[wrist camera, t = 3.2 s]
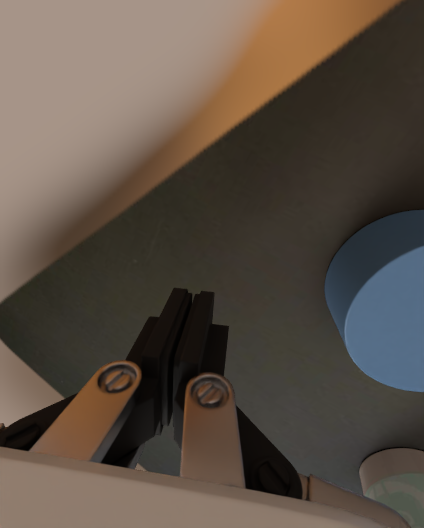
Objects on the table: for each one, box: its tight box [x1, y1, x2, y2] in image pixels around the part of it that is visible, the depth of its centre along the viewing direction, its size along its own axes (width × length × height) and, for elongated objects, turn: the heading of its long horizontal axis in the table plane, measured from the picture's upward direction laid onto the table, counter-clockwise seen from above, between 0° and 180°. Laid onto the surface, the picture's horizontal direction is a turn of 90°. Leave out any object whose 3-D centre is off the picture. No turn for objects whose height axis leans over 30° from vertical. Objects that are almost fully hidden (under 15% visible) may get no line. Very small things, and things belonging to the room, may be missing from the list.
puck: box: [325, 210, 424, 392], centre depth 14 cm, size 8×8×4 cm
